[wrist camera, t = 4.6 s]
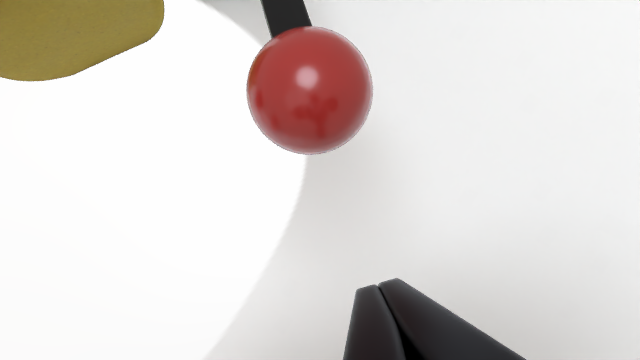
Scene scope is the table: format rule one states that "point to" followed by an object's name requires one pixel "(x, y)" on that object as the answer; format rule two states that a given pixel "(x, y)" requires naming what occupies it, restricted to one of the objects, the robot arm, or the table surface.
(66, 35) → the flower pot
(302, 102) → the lever
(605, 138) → the table surface
